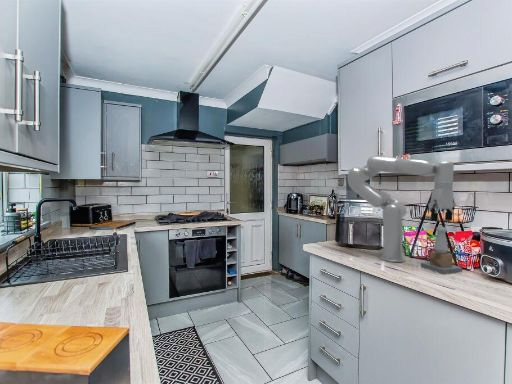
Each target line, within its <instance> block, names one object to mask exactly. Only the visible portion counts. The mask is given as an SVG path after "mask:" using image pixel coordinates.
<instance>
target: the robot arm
mask: <svg viewBox="0 0 512 384" xmlns="http://www.w3.org/2000/svg"><path fill="white" fill-rule="evenodd" d="M454 166H455V165H454V162H452V161H450V160H449V161H446V160H445V161H437V162H431V161H428V160H422V159H421V160H419V159H411V158H410V159H409V158H408V159H407V158H401V157H394V156H393V157H392V156H382V155H381V156H380V155H372V156H370V157H369V158H367V160H366V164H365V165H364V166H363V167H360V166H359V167H358V166H356V167H352V168H351V169H350V170H349V171H348V174H347V184H348V186H349V188H351V190H352V191H354V192H355V194H357V195H358V196H359V197H360V198H362V199H363V200H365V201H366V202H367V203H368V204H370V205H371V206H372V207H374V208H380V209H381V210H382V219H383V222H382V224H383V227H382V228H383V229H382V230H383V234H382V235H383V246H382V248H380V249H379V250H378V252H379V253H380V254H381V255H379V259H380V260H382V261H385V262H389V263H405V262H406V257H404V256H403V236H404V235H403V229H404V228H403V227H404V225H403V218H404V217H405V216H406V215H407V207H406V205H404V204H403V203H402V202H401V201H400V200H398V199H396V197H394V196H392V195H391V194H390V193H388V192H387V191H383V190H378V189H376V188H375V187H373V186H372V185H371V184H369V183H368V182H366V181H369V180H370V179H371V178H374V177H375V176H377V174H380V173H382V172H384V173H385V172H386V173H391V174H405V175H415V176H421V177H434V184H433V185H434V186H433V189H432V191H431V192H432V193H431V197H430V198H431V199H430V202H429V203H428V209H429V212H430V221H434V222H438V219H439V213H438V212H439V210H445V211H446V212H445V215H444V219H445V220H446V221H450V222H451V221H453V214H454V210H455V209H456V208H455V207H456V206H457V204H456V202H454V191H453V186H454V185H453V184H454V169H455V167H454Z"/></svg>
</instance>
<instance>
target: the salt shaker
mask: <svg viewBox="0 0 512 384" xmlns="http://www.w3.org/2000/svg"><path fill="white" fill-rule="evenodd" d="M447 230H448V229H447V228H446V227H445V226H437V227H436V228H435V231H436V232H437V233H436V238H435V239H434V240H435V242H434V245H433V249H434V252H436V253H438V254H446V253H448V251H449V247H448V243H447V242H448V241H447V236H446V233H447Z"/></svg>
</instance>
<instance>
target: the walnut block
mask: <svg viewBox="0 0 512 384" xmlns="http://www.w3.org/2000/svg"><path fill="white" fill-rule="evenodd" d="M429 262H430V264H431V265H435V266H438V267H441V268H445V267H452V265H453V253H449V252H446V254H438V253H436V252H435V251H430V252H429Z"/></svg>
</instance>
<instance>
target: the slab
mask: <svg viewBox="0 0 512 384" xmlns="http://www.w3.org/2000/svg"><path fill="white" fill-rule="evenodd" d="M420 267H421V268H423V269H426V270H430V271H432V272H436V273H439V274H442V275H450V274H456V273H462V272H463V267H461V266H458V265H454V264H452V267H445V268H441V267H438V266H435V265H431V264H430V261H427V262H426V261H425V262H421V263H420Z"/></svg>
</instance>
